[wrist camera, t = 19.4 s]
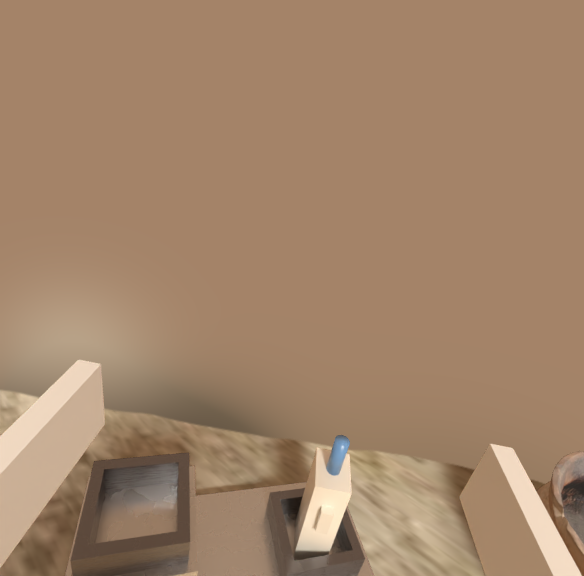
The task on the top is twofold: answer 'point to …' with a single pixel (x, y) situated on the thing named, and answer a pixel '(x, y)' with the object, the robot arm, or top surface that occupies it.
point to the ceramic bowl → (567, 504)
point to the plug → (323, 501)
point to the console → (195, 527)
